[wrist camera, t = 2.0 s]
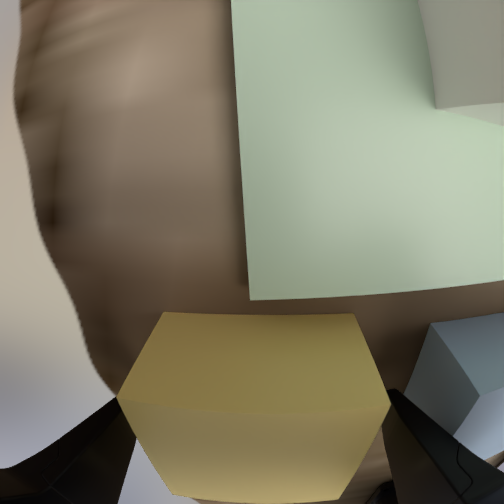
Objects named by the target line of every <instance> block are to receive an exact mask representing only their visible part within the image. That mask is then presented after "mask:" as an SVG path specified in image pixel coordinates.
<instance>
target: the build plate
mask: <svg viewBox="0 0 504 504" xmlns="http://www.w3.org/2000/svg"><path fill="white" fill-rule="evenodd" d="M231 10H232V27H233V45H234V62H235V78H236V95H237V111H238V127H239V143H240V159H241V174H242V189H243V204H244V219H245V234H246V249H247V263H248V278H249V292H250V300H278V299H304V298H324V297H341V296H357V295H371V294H383V293H395V292H407V291H417V290H427V289H437V288H446V287H455V286H463V285H471V284H479V283H486V282H493V281H500V280H504V126H500V125H497V124H494V123H490V122H487V121H483V120H479V119H475V118H472V117H467V116H463V115H459V114H455V113H450V112H445V111H440V110H436V106H435V94H434V85H433V76H432V69H431V62H430V56H429V50H428V45H427V39H426V34H425V30H424V25H423V21H422V17H421V13H420V9H419V5H418V1H417V0H231Z"/></svg>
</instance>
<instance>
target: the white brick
mask: <svg viewBox="0 0 504 504" xmlns="http://www.w3.org/2000/svg"><path fill="white" fill-rule="evenodd" d="M417 1H418V5H419V9H420V13H421V17H422V21H423V25H424V30H425V34H426V39H427V45H428V50H429V56H430V62H431V69H432V76H433V85H434V94H435V106H436V110H440V111H445V112H450V113H455V114H459V115H463V116H467V117H472V118H475V119H479V120H483V121H487V122H490V123H494V124H497V125H500V126H504V0H417Z"/></svg>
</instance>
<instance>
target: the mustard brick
mask: <svg viewBox="0 0 504 504" xmlns="http://www.w3.org/2000/svg"><path fill="white" fill-rule="evenodd" d="M116 398H117V400H118V402H119V404H120V406H121V408H122V411H123V413H124V415H125V416H126V418H127V420H128V422H129V424H130V426H131V428H132V430H133V432H134V434H135V435H136V437H137V439H138V440H139V443H140V444H141V446H142V448H143V449H144V451H145V453H146V454H147V456H148V458H149V459H150V461H151V463H152V464H153V466H154V467H155V469H156V471H157V472H158V474H159V475H160V477H161V478H162V480H163V481H164V483H165V484H166V486H167V487H168V489H169V490H170V491H171V493H172V494H173V495H178V496H184V497H190V498H197V499H205V500H213V501H223V502H236V503H257V504H284V503H306V502H318V501H328V500H336V499H339V497H340V496H341V494H342V493H343V491H344V490H345V488H346V487H347V485H348V484H349V482H350V480H351V479H352V477H353V476H354V474H355V472H356V471H357V469H358V467H359V466H360V464H361V462H362V460H363V459H364V457H365V455H366V453H367V452H368V450H369V448H370V446H371V444H372V442H373V440H374V439H375V437H376V435H377V433H378V431H379V429H380V427H381V425H382V423H383V421H384V418H385V416H386V414H387V412H388V410H389V408H390V406H391V403H390V400H389V397H388V395H387V392H386V390H385V387H384V384H383V382H382V379H381V377H380V374H379V372H378V369H377V367H376V365H375V362H374V360H373V357H372V355H371V352H370V350H369V348H368V345H367V343H366V341H365V338H364V336H363V334H362V331H361V329H360V327H359V325H358V322H357V320H356V318H355V316H354V313H347V314H315V315H231V314H199V313H177V312H163V314H162V315H161V317H160V319H159V321H158V322H157V324H156V326H155V328H154V329H153V331H152V333H151V335H150V336H149V338H148V340H147V342H146V343H145V345H144V347H143V349H142V351H141V352H140V354H139V356H138V358H137V360H136V361H135V363H134V365H133V367H132V369H131V371H130V372H129V374H128V376H127V378H126V380H125V382H124V384H123V385H122V387H121V389H120V391H119V393H118V395H117V397H116Z"/></svg>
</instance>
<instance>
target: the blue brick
mask: <svg viewBox="0 0 504 504" xmlns="http://www.w3.org/2000/svg"><path fill="white" fill-rule="evenodd" d="M403 395H405V396H406V397H407V398H408V399H409V400H410V401H412V402H413V403H414V404H415V405H416V406H417V407H419V408H420V409H421V410H422V411H423V412H425V413H426V414H427V415H428V416H429V417H430V418H432V419H433V420H434V421H435V422H436V423H438V424H439V425H440V426H441V427H442V428H444V429H445V430H446V431H447V432H448V433H450V434H451V435H452V436H453V437H454V438H455V439H457V440H458V441H459V442H460V443H462V444H463V445H464V446H465V447H466V448H468V449H469V450H470V451H472V452H473V453H474V454H475V455H477V456H478V457H480V458H481V459H483V460H485V459H487V458H490V457H492V456H493V455H495V454H497V453H499V452H501V451H503V450H504V312H502V313H496V314H491V315H485V316H479V317H472V318H466V319H459V320H452V321H444V322H436V323H430V326H429V329H428V332H427V335H426V338H425V341H424V344H423V346H422V349H421V352H420V355H419V357H418V360H417V363H416V365H415V368H414V370H413V373H412V375H411V378H410V380H409V383H408V385H407V387H406V390H405V392H404V394H403Z"/></svg>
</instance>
